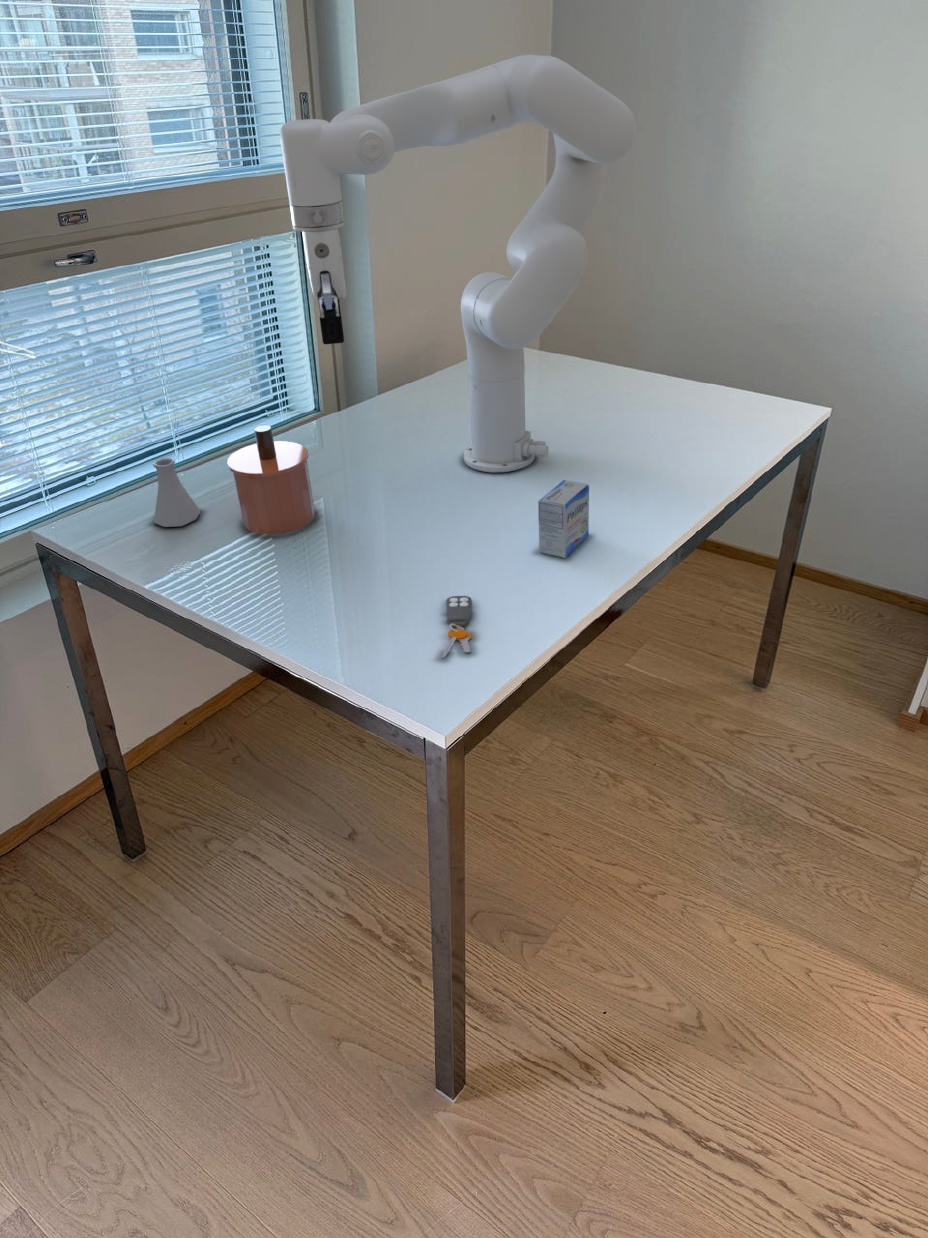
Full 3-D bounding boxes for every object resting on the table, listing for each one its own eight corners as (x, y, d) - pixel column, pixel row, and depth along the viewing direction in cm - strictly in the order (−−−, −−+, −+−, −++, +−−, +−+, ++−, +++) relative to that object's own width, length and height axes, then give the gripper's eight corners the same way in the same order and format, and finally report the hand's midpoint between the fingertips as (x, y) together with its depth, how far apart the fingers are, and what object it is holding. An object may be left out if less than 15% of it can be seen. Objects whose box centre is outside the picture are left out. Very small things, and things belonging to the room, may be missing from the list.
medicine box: (565, 559, 137) (565, 505, 132) (538, 552, 139) (537, 499, 134) (589, 536, 142) (590, 483, 138) (562, 530, 144) (562, 478, 140)
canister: (328, 509, 155) (319, 449, 149) (292, 541, 146) (281, 479, 140) (268, 500, 159) (257, 442, 153) (229, 532, 150) (216, 471, 144)
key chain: (444, 603, 129) (444, 594, 128) (472, 602, 128) (471, 593, 128) (441, 659, 118) (440, 649, 117) (471, 658, 118) (471, 648, 117)
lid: (323, 452, 149) (318, 417, 146) (282, 484, 140) (276, 448, 137) (256, 444, 154) (250, 410, 150) (212, 475, 144) (204, 439, 141)
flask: (208, 510, 157) (195, 454, 151) (184, 530, 151) (170, 473, 146) (171, 506, 159) (157, 450, 153) (145, 526, 153) (130, 469, 148)
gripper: (345, 224, 130) (359, 348, 140) (341, 203, 145) (354, 316, 154) (291, 229, 130) (308, 352, 139) (292, 207, 144) (308, 320, 153)
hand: (332, 333), depth 147 cm, fingers open, 9 cm apart
